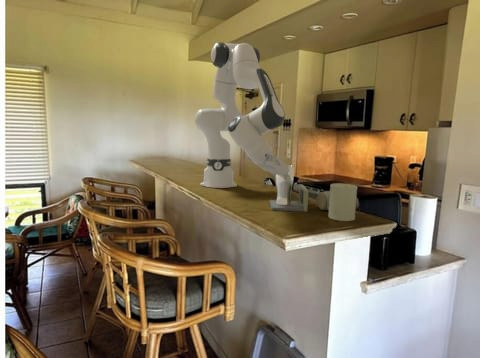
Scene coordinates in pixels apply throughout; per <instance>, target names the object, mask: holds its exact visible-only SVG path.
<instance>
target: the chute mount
mask: <svg viewBox="0 0 480 358" xmlns="http://www.w3.org/2000/svg"><path fill="white" fill-rule="evenodd" d="M298 190H299V191H298V200H291V205H288V206H282V205H277V204H276V199H269V204H270V208H271V211H275V210H276V211H277V212H279V211H281V212H284V211H285V212H308V207H309V204H308V203H309V190H308V189H307V187H306V186H305V185H304V184H301V183H300V184H299V189H298Z"/></svg>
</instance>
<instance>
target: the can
mask: <svg viewBox="0 0 480 358" xmlns="http://www.w3.org/2000/svg"><path fill="white" fill-rule="evenodd" d="M329 186H330V187H329V191H330V202H329V210H328V215H327V217H328V218H329V219H331V220H334V221H340V222H352V221H354V220H356V204H357V203H356V202H357V195H358V186H357V185H355V184H350V183H340V182H339V183H337V182H336V183H331V184H330V185H329Z"/></svg>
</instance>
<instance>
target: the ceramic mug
mask: <svg viewBox="0 0 480 358" xmlns="http://www.w3.org/2000/svg"><path fill="white" fill-rule="evenodd" d="M329 202H330V190H327V191H322V192H319V193H318V194H317V196H316V205H317V208H318V209H320V210H321V211H329Z"/></svg>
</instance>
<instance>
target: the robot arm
mask: <svg viewBox="0 0 480 358" xmlns="http://www.w3.org/2000/svg"><path fill="white" fill-rule="evenodd" d="M210 60H211V63H212V65H213V66H214V67H216V70H215V74H214V79H213V86H212V87H213V88H212V98H214V99H215V101H217V102H218V103H220V105H221V106H220V108H213V107H212V108H211V107H210V108H201V109H198V111H196V113H195V115H194V124H195V126H196V127H197V128H198V129H199V130H200V131H201V133H203V136H205V138H206V143H207V155H208V156H207V160H206V164H207V165H206V168H204V169H203V170H204V171H203V181H202V182H200V184H199V185H200V186H203V187H207V188H215V189H216V188H217V189H225V188H233V187H238V185H237V183H236V182H235V181H234V179H235V177H234V170H233V169H232V168H231V164H232V161H231V160H232V159H231V144H230V142H229V141H228V140H227V139H225V138H224V137H222V135H221V132H228V134H229V136H230V138H231V139H232V140H233V141H234V143H235V144H236V145H237V146H238V147H239V148H240V149H241V150H243V151H244V152H245V155H246V156H247V158H248V159H249V160H250V161H251V162H252V163H253V164H254V165H256V166H258V167H259V168H260V169H262V170H263V171H265V172H269V173H270V174H271V175H272V176H273V177H275V178H276V174H277V175H280V176H283V178H284V180H285V181H287V182H289V181H290V180H291V178H290V177H289V176H288V172H289V171H290V170H289V168H288V167H287V166H286V165H287V164H286V163H284V161H283V160H282V159H281V158H280V157H279V156H277V155H274V154H273V152H274V149H273V148H272V146H271V145H270V144H269V143H268V142H267V141H266V139H264V138H263V137H262V136H263V135H265V134H267V133H269V132H271V131H272V130H275V129H277V128H280V127H282V125H283V124H284V122H285V119H286V116H285V110H284V108H283V106H282V105H281V103H280V101H279V98H278V96H277V93H276V91H275V88H274V86H273V83H272V80H271V78H270V76H269V74H268V73H267V72H266V71H265V69H263V68H260V61H261V55H260V52H259V49H258V48H256V47H254V46H252V45H251V44H249V43H245V42H241V43H230V42H228V43H226V42H215V43H214V45H213V46H212V48H211V51H210ZM237 87H239V88H241V89H245V90H254V89H259V92H260V95H261V97H262V102H261V105H260V106H259V107H257V108H256V109H255V110H253V111H251V112H249V113H247V114H245V115H243V113H242V112H241V110H240V109H239V107H238V105H237V102H236V101H237V100H236V96H237Z"/></svg>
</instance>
